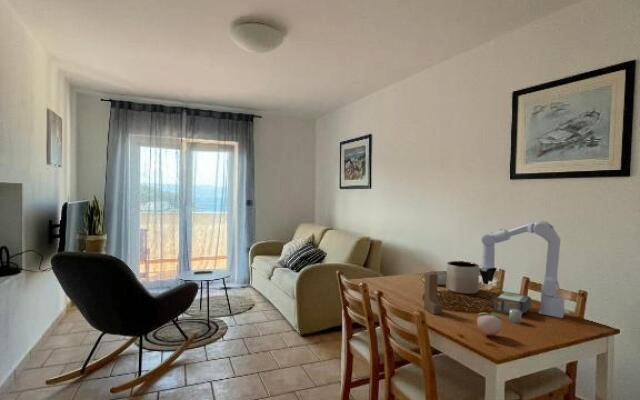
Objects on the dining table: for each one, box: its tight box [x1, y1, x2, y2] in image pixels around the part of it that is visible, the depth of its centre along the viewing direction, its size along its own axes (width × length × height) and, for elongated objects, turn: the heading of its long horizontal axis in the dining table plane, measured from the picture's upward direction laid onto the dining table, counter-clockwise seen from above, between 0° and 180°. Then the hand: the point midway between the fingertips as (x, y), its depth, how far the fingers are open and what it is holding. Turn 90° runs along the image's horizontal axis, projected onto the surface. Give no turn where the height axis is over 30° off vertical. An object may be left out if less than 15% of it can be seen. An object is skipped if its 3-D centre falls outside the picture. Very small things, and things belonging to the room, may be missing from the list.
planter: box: [445, 260, 480, 295], centre depth 207 cm, size 18×18×16 cm
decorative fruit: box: [476, 310, 504, 337], centre depth 141 cm, size 9×8×10 cm
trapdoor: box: [497, 291, 532, 313], centre depth 171 cm, size 12×12×5 cm
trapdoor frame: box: [493, 290, 528, 316], centre depth 172 cm, size 11×15×7 cm
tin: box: [430, 270, 447, 286], centre depth 219 cm, size 15×3×8 cm, turn 84°
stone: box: [508, 309, 523, 325], centre depth 158 cm, size 5×5×5 cm
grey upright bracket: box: [423, 271, 443, 315], centre depth 170 cm, size 9×4×18 cm, turn 14°
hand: (487, 282), depth 186 cm, fingers open, 7 cm apart
